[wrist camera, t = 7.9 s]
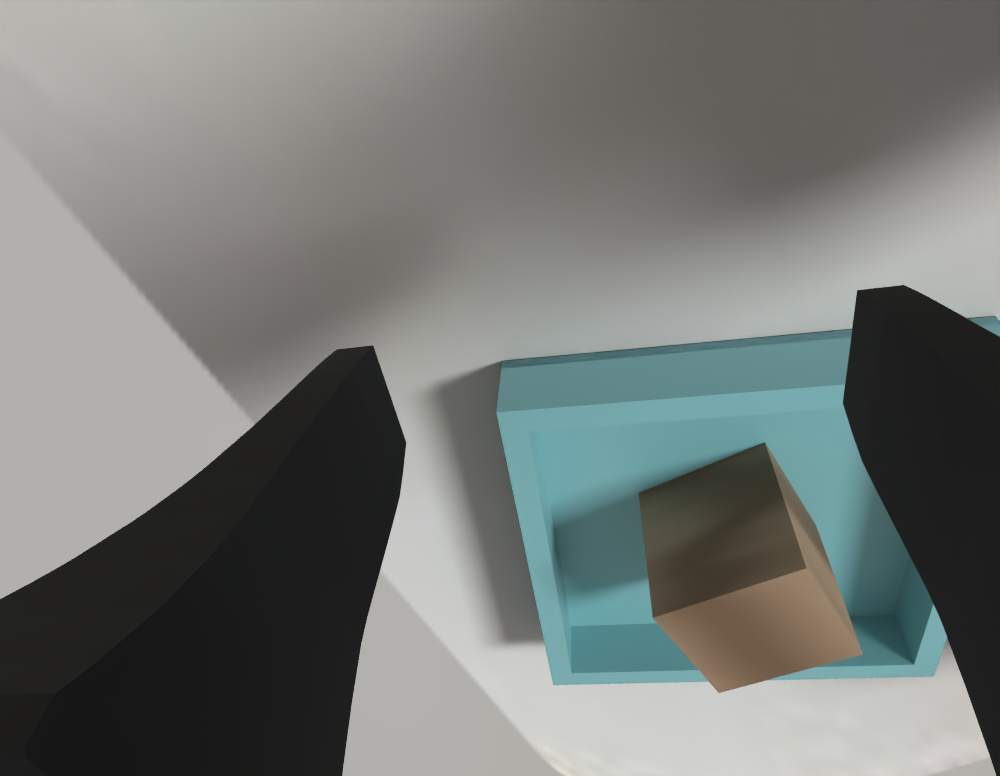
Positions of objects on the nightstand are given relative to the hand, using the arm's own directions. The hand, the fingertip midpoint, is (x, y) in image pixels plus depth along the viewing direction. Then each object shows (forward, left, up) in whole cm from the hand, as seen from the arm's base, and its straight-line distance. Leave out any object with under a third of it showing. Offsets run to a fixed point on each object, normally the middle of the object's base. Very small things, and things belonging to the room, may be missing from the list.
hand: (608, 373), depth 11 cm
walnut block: (-4, +13, -9) cm, 16 cm away
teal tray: (-4, +13, -9) cm, 16 cm away
